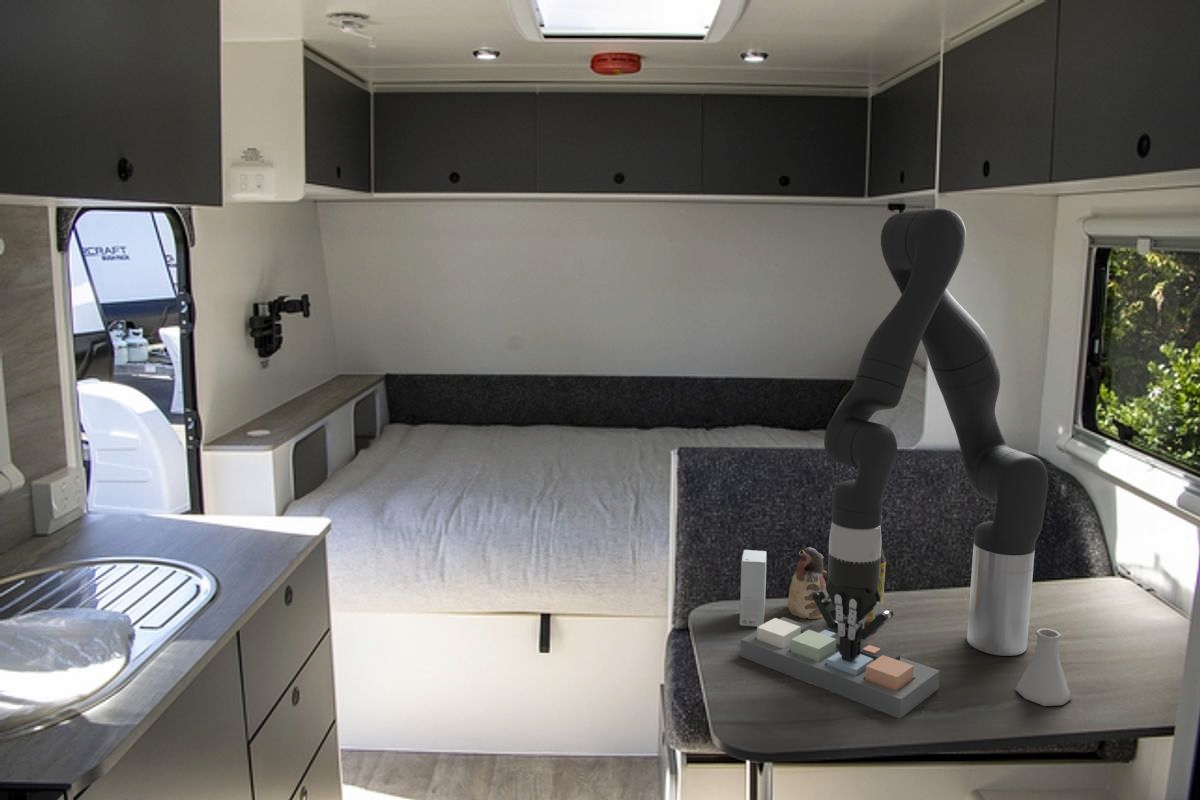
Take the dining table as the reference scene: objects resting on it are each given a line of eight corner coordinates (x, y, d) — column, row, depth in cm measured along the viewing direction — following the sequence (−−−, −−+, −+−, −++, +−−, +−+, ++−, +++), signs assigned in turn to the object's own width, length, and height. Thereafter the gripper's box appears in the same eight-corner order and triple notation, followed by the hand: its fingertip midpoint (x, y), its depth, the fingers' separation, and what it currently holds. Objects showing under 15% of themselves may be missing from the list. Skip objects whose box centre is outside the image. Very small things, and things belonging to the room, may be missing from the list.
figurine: (836, 613, 172) (839, 550, 170) (807, 622, 169) (809, 557, 166) (808, 600, 178) (810, 538, 176) (779, 608, 175) (781, 546, 172)
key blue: (843, 663, 150) (844, 648, 150) (872, 673, 147) (873, 658, 146) (826, 674, 147) (827, 659, 146) (855, 685, 144) (856, 669, 143)
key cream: (774, 631, 159) (775, 617, 159) (800, 641, 156) (800, 626, 155) (756, 641, 156) (757, 627, 155) (782, 651, 152) (783, 636, 152)
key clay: (881, 670, 146) (882, 655, 145) (912, 681, 142) (913, 665, 142) (865, 681, 142) (865, 666, 142) (896, 693, 139) (897, 677, 138)
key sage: (808, 643, 155) (808, 629, 154) (835, 653, 151) (836, 638, 151) (790, 654, 151) (791, 639, 151) (818, 664, 148) (818, 649, 147)
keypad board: (782, 633, 164) (783, 611, 164) (938, 688, 145) (940, 664, 144) (740, 656, 156) (740, 633, 155) (899, 718, 137) (901, 692, 136)
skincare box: (764, 628, 167) (765, 562, 164) (739, 626, 167) (740, 561, 165) (765, 613, 172) (767, 550, 170) (741, 612, 173) (742, 549, 171)
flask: (1005, 689, 145) (1010, 627, 143) (1041, 680, 148) (1046, 619, 146) (1044, 711, 138) (1050, 647, 136) (1081, 701, 141) (1087, 638, 139)
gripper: (908, 555, 141) (901, 665, 145) (829, 535, 150) (824, 638, 154) (882, 569, 136) (876, 682, 139) (802, 546, 145) (798, 653, 148)
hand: (849, 658), depth 146 cm, fingers closed
